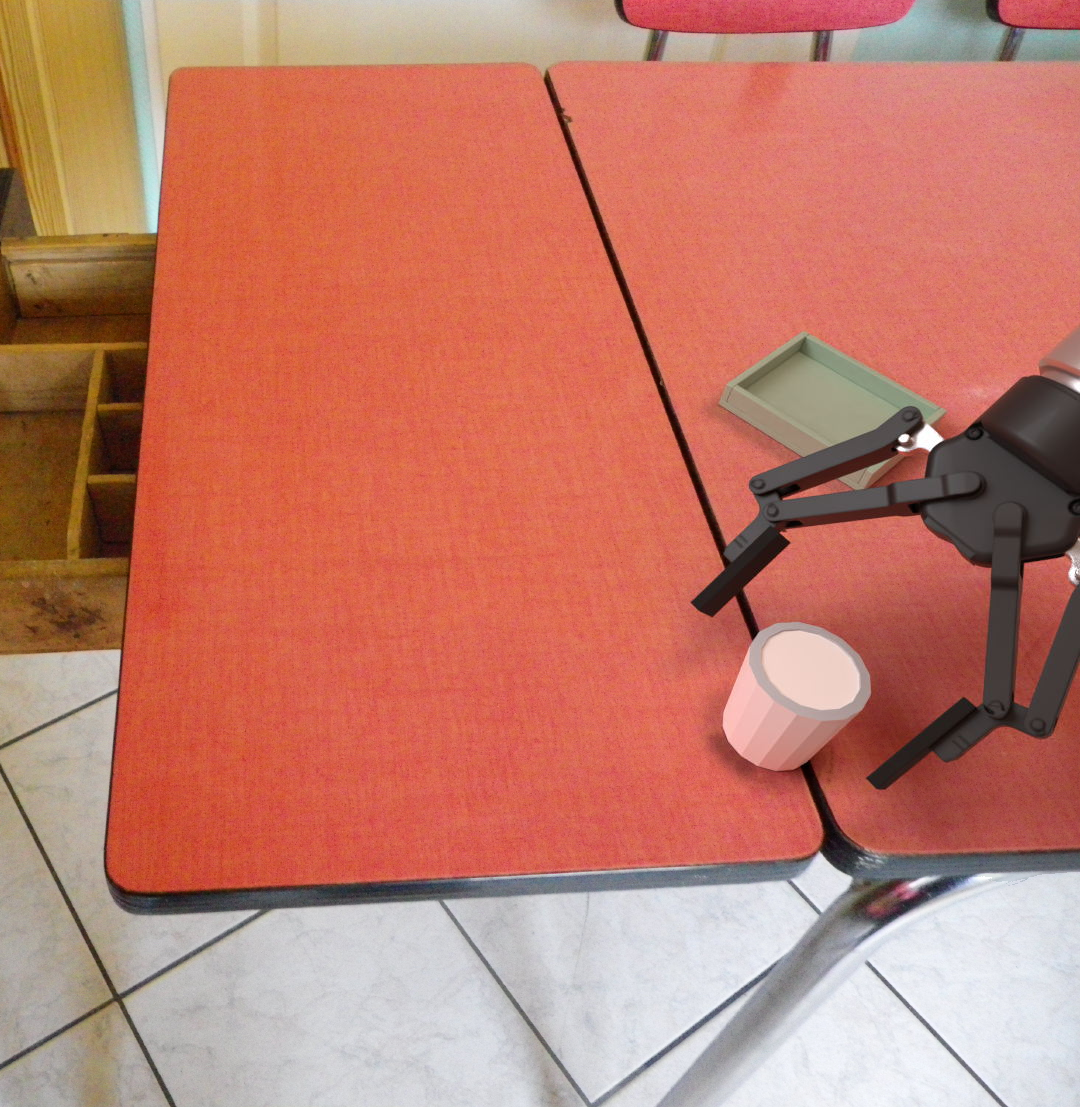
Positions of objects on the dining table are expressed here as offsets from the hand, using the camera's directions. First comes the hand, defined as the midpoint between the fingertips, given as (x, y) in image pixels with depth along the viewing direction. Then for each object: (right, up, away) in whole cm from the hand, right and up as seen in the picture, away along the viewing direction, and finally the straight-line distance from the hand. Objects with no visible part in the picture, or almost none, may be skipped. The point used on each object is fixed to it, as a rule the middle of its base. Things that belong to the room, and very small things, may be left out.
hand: (782, 692), depth 59 cm
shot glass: (+1, -3, +5) cm, 6 cm away
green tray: (+14, +19, +24) cm, 34 cm away
